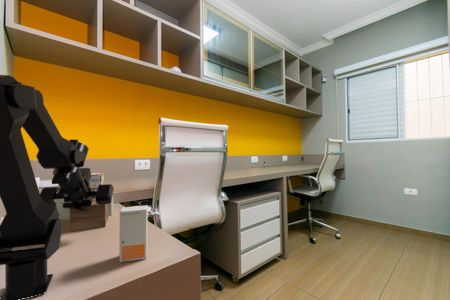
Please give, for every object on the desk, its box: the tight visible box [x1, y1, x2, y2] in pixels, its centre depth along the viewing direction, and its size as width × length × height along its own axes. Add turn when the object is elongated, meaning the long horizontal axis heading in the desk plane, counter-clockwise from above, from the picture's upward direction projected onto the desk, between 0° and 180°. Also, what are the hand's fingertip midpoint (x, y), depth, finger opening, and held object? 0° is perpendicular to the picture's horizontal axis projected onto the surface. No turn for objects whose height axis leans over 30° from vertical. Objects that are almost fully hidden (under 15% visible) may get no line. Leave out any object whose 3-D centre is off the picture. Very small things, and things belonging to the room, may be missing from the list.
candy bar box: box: [88, 172, 105, 190], centre depth 92 cm, size 11×5×16 cm, turn 25°
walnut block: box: [69, 199, 109, 233], centre depth 76 cm, size 14×10×8 cm
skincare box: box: [119, 205, 149, 263], centre depth 52 cm, size 6×4×12 cm
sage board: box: [54, 190, 114, 221], centre depth 84 cm, size 3×20×10 cm, turn 107°
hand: (84, 209), depth 70 cm, fingers closed, pressing on walnut block
